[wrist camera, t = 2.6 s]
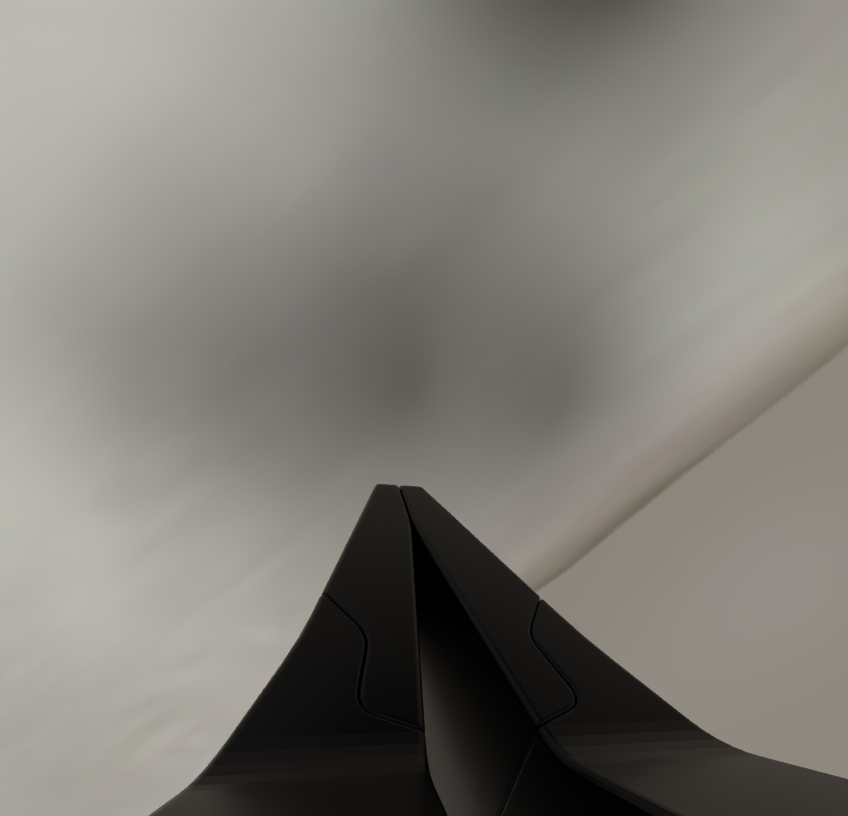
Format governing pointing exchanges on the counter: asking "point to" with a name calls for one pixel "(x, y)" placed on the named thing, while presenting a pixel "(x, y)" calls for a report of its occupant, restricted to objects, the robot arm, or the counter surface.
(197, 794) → the robot arm
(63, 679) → the counter surface
